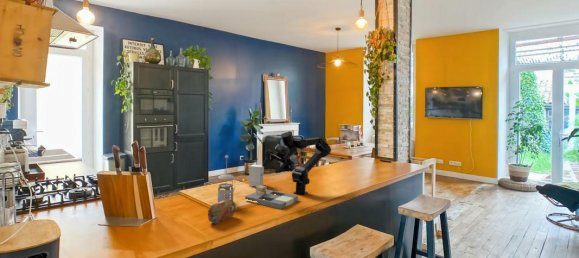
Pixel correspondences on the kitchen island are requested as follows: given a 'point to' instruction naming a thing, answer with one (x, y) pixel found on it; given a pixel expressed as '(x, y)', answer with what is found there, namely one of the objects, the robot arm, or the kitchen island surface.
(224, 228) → the kitchen island surface
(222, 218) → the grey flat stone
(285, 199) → the board
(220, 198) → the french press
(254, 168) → the supplement box
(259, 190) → the maple block
